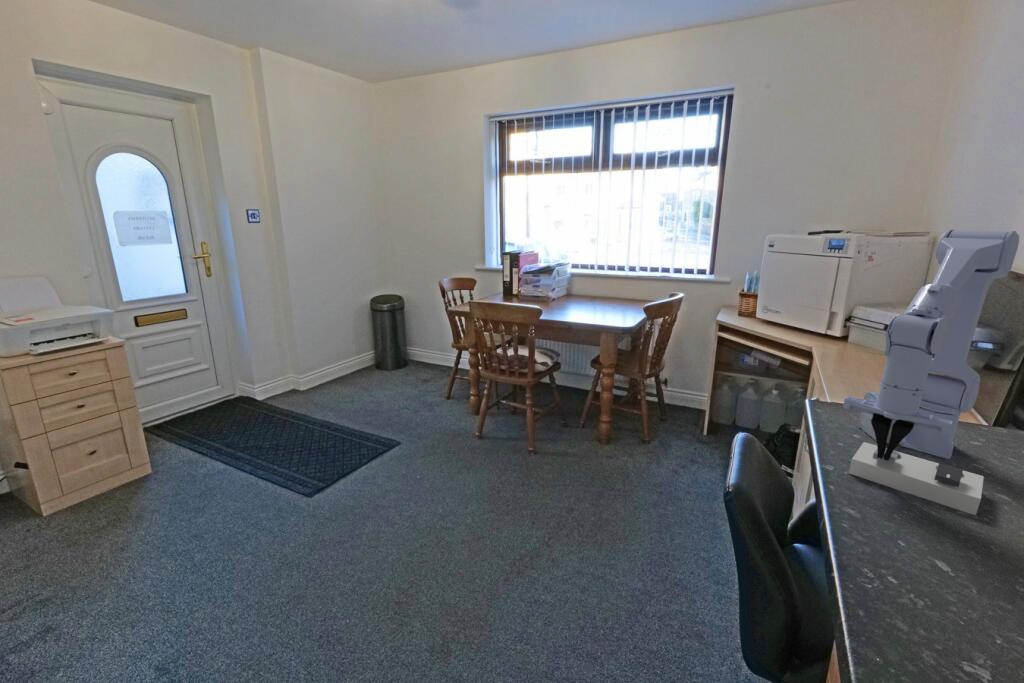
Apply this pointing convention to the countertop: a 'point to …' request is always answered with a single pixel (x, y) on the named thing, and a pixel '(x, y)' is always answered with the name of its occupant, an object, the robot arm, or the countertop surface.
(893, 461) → the block
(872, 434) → the medicine box
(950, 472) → the block
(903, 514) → the countertop surface
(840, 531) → the countertop surface
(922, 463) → the switch panel
